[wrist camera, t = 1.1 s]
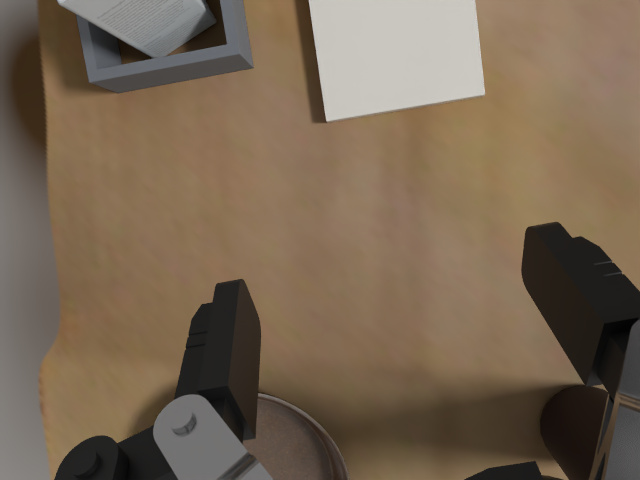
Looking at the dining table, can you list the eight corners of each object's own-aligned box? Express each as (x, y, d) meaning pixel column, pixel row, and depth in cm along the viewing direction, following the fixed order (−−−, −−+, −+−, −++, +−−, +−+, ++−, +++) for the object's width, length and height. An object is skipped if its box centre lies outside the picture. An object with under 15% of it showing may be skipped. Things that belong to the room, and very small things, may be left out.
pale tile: (304, -35, 35) (302, -41, 34) (463, -68, 34) (466, -76, 33) (327, 123, 36) (326, 121, 35) (481, 97, 35) (485, 94, 34)
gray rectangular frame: (95, -28, 37) (62, -54, 33) (233, -59, 35) (216, -90, 32) (118, 93, 38) (89, 82, 34) (253, 67, 36) (239, 53, 33)
